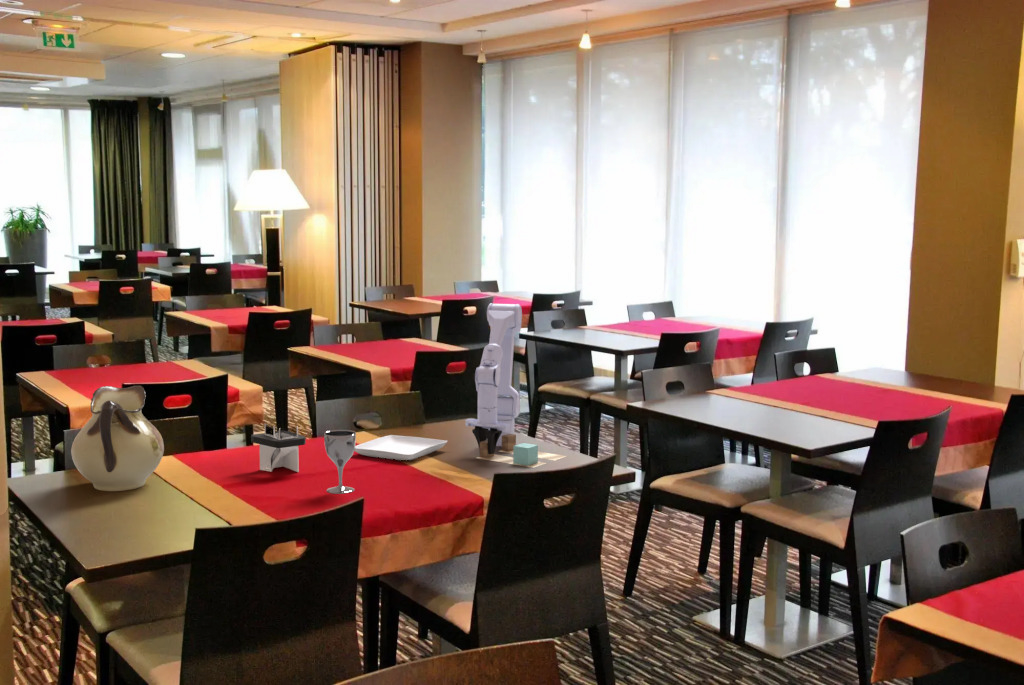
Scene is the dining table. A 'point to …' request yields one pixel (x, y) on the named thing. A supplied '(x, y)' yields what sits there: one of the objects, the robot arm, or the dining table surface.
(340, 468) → the wine glass
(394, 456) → the salad plate
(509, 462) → the strip
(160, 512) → the dining table surface
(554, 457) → the empty strip
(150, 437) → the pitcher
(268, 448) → the black-topped pedestal
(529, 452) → the teal block
